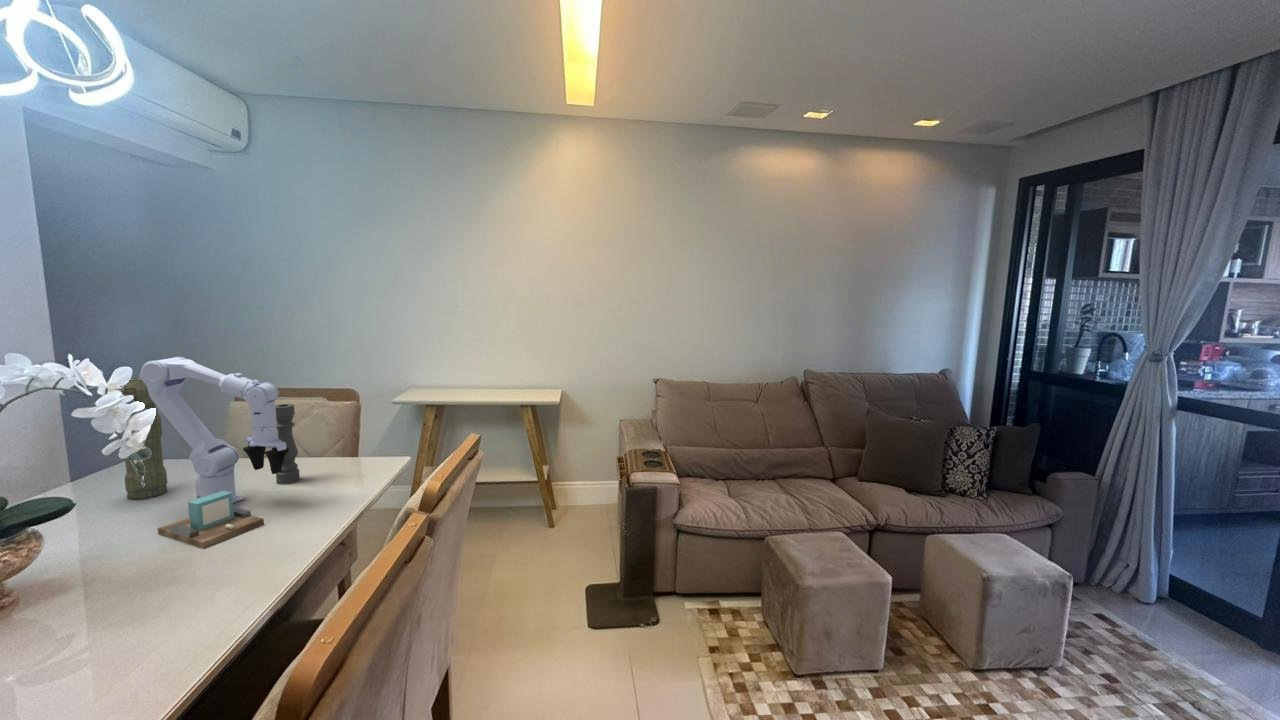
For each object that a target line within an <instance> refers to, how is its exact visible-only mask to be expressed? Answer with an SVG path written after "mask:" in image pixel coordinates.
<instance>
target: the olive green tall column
mask: <svg viewBox="0 0 1280 720" xmlns="http://www.w3.org/2000/svg"><path fill="white" fill-rule="evenodd" d="M130 378H131V379H130V380H129V382H128V383H127V384H126V385H125V386H124V387H123V388H122V389H121V392H122V394H123V395H133V396H134V400H135V401H139V402H143V403H144V404H145V409H150V408H156V416H155V419H154V421H153V424H152V426H151V429H150V432H149V434H148V436H147V439H146V442H145V445H146V447H148V448H150V449H151V451H152V455H151V458H150V459H146V460H143V463H144V466H145V471H146V472H145V475H144V483H145V488H143V487H142V484H141V480H140V479H139V478H138V477H137V474H136V472H135V470H134V468H133V466H132V464H131V462H130V459H125V458H124V461H125V470H126V471H125V472H126V473H125V476H124V488H125V491H126V492H127V493H126V494H127V495H126V497H127V499H128V500H130V499H131V501H138V499H142V500H147V499H146V498H148V499H151V498H150V497H153V498H156V497H160V496H162V495H164V494H167V492H168V491H169V490H168V486H167V484H168V475H167V470H166V467H165V466H164V459H163V457H164V456H163V449H162V439H161V438H162V436H163V427H162V417H161V415H160V414H159V413H158V407H157V406H156V404H155V403H154V402H153V401H152V399H151V398H150V396H149V393H148V389H147V386H146V385H145V383H144V382H143V381H142V380H141V378H140V377H130ZM155 496H156V497H155Z"/></svg>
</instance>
